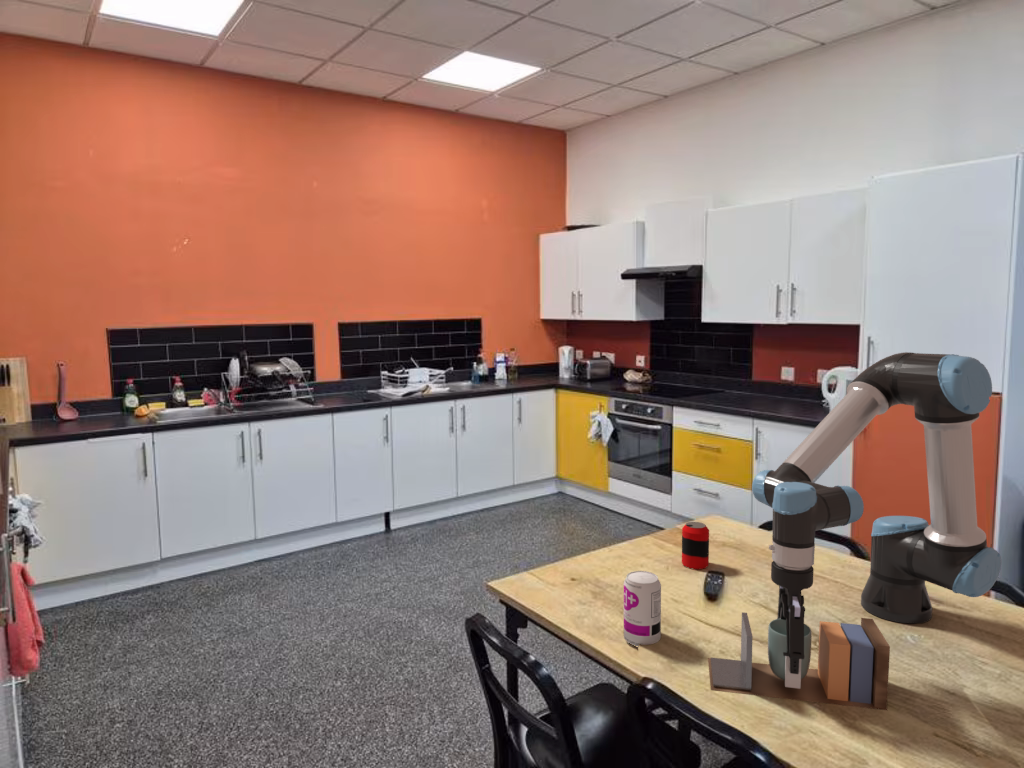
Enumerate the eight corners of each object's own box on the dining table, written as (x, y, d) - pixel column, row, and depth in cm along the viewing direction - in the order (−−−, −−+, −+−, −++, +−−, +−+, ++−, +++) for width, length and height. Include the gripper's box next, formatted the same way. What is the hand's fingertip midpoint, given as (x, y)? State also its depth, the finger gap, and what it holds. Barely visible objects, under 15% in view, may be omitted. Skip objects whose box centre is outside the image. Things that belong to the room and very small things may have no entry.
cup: (761, 677, 130) (762, 629, 128) (774, 661, 136) (776, 614, 134) (803, 691, 125) (805, 641, 124) (814, 673, 131) (816, 625, 129)
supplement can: (633, 652, 145) (633, 586, 143) (617, 634, 153) (617, 572, 151) (667, 646, 147) (667, 581, 145) (649, 629, 155) (650, 567, 153)
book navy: (857, 677, 131) (860, 624, 130) (870, 703, 123) (873, 647, 121) (838, 675, 132) (840, 623, 131) (850, 701, 123) (852, 645, 122)
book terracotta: (836, 675, 132) (838, 622, 131) (848, 701, 124) (850, 645, 122) (817, 673, 133) (819, 621, 132) (827, 698, 124) (829, 643, 123)
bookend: (745, 663, 137) (746, 612, 136) (751, 690, 127) (752, 636, 126) (710, 659, 138) (711, 609, 137) (713, 686, 129) (714, 632, 128)
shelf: (868, 680, 132) (871, 617, 131) (887, 716, 121) (890, 647, 119) (707, 663, 140) (708, 603, 138) (710, 695, 128) (711, 630, 127)
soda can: (676, 561, 196) (677, 522, 194) (699, 558, 198) (699, 519, 196) (690, 571, 188) (691, 530, 187) (713, 567, 191) (714, 527, 189)
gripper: (764, 543, 138) (761, 646, 141) (779, 583, 118) (776, 702, 121) (803, 545, 137) (799, 650, 139) (825, 586, 117) (820, 707, 119)
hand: (788, 674), depth 130 cm, fingers closed on cup, 8 cm apart
